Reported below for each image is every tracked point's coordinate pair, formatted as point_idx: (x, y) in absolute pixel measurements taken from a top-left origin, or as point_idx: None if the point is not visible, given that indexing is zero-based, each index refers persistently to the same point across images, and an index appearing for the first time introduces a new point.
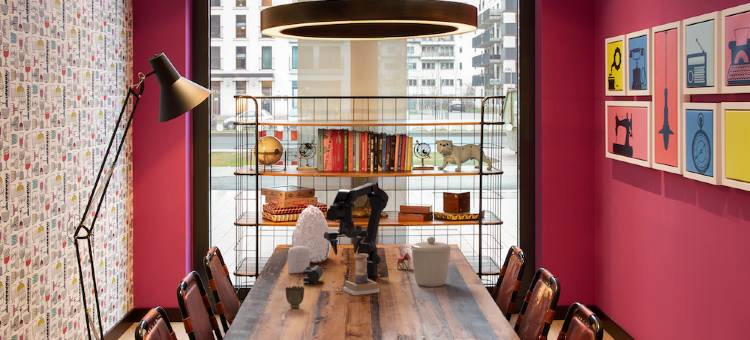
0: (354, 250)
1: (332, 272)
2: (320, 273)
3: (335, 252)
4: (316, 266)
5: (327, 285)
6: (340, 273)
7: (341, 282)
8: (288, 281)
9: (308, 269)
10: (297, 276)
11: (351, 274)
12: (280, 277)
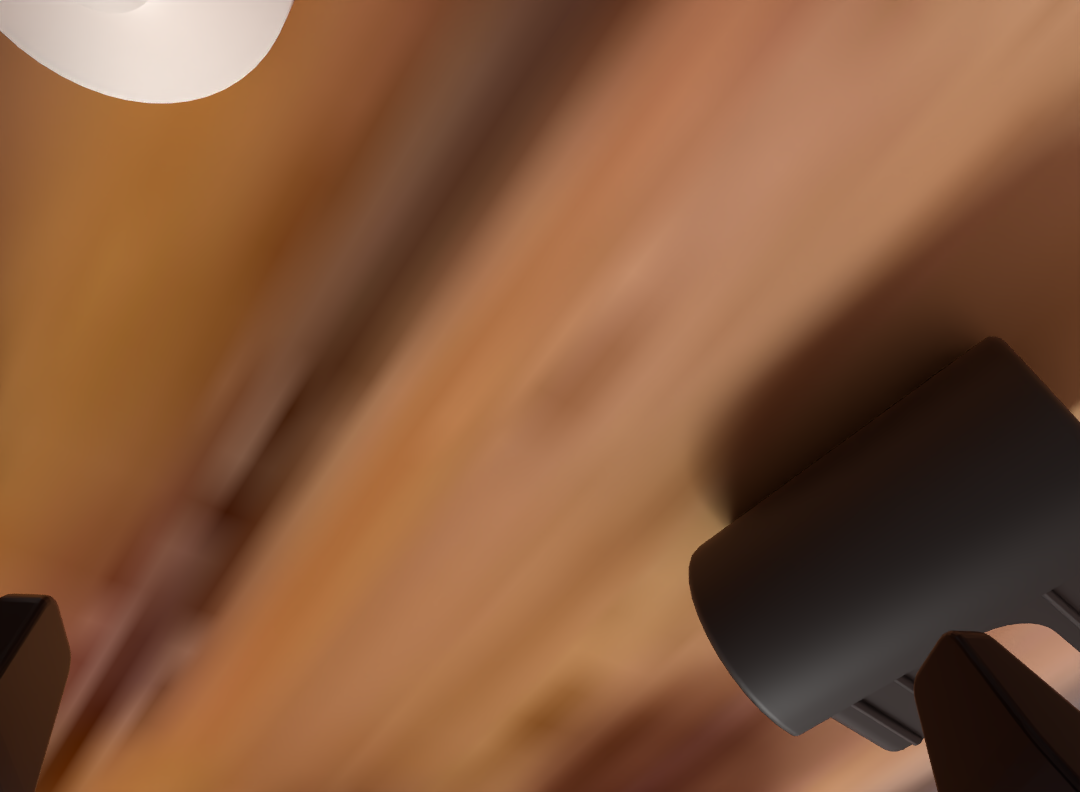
0: (17, 747)
1: (295, 753)
2: (881, 491)
3: (1065, 726)
4: (848, 689)
5: (866, 192)
6: (223, 692)
7: (514, 263)
8: (1025, 623)
9: (1078, 613)
10: (756, 746)
11: (96, 608)
12: (920, 768)
